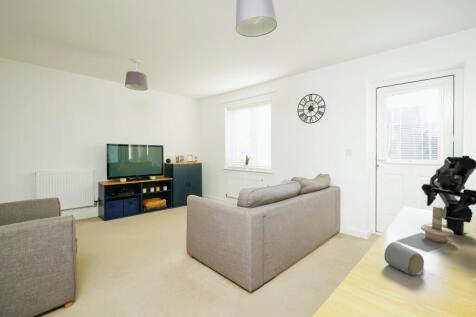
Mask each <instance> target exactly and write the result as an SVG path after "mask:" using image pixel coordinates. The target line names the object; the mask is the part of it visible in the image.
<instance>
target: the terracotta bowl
mask: <svg viewBox="0 0 476 317" xmlns="http://www.w3.org/2000/svg"><path fill="white" fill-rule="evenodd" d="M424 233H425V237H426V238H427V239H429V240H431V241H434V242H439V243H444V242H448V240H449V236H441V235H435V234H431V233H428V232H425V231H424Z"/></svg>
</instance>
